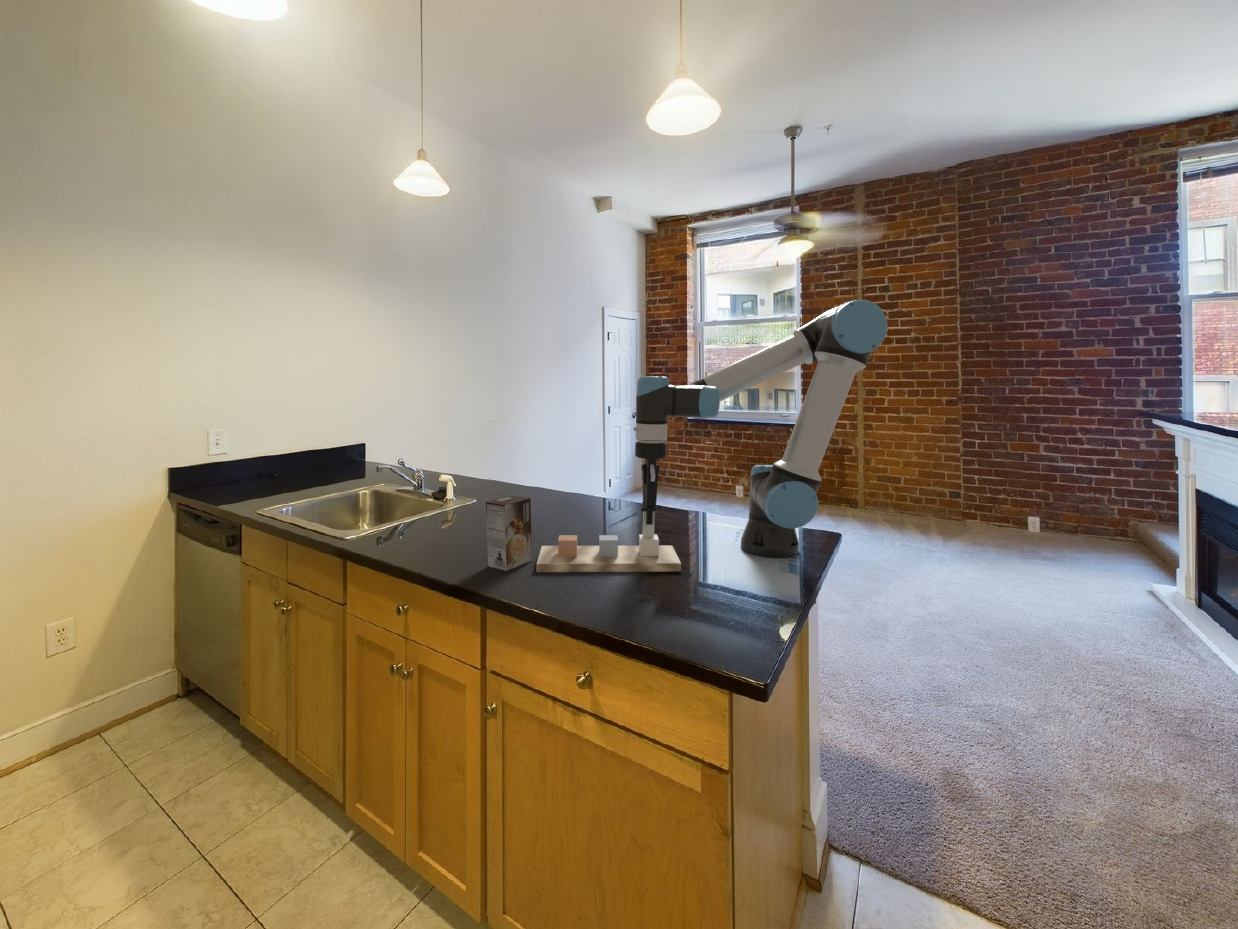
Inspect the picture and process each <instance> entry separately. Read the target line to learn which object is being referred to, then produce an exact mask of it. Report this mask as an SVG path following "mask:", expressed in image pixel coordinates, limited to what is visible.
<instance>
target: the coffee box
mask: <svg viewBox="0 0 1238 929" xmlns="http://www.w3.org/2000/svg"><path fill="white" fill-rule="evenodd" d="M531 504H532V503H531V497H524V496H518V495H508V496H504V497H501V498H500V497H499V498H496V499H493V500H488V501H485V508H486V509H485V510H486V511H485V512H486V536H487V537H486V538H487V542H486V544H487V566H488V567H489V568H493V569H497V570H500V571H501V570H502V571H505V572H507V571H510V570H513V569H515V568H518V567H520V566H522V565H524V564H525V565H526V564H527V563H529V562H531V561H533V552H532V550H533V549H532V548H533V545H532V510H531V509H532V508H531V506H532V505H531Z"/></svg>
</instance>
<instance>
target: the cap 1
mask: <svg viewBox="0 0 1238 929" xmlns="http://www.w3.org/2000/svg"><path fill="white" fill-rule="evenodd" d="M557 540H558V541H557V546H558V557H577V546H578V535H577V534H576V535H575V534H574V535H572V534H569V535H567V534H565V535H564V534H562V535H561V534H560V535H558V539H557Z"/></svg>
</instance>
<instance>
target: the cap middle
mask: <svg viewBox="0 0 1238 929" xmlns="http://www.w3.org/2000/svg"><path fill="white" fill-rule="evenodd" d="M598 536H599V538H598V543H599V544H598V546H599V557H618V546H619V538H618V537H619V536H618V534H600V535H598Z"/></svg>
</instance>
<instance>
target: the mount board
mask: <svg viewBox="0 0 1238 929" xmlns="http://www.w3.org/2000/svg"><path fill="white" fill-rule="evenodd" d="M535 566H536V573H588V572H589V573H592V572H593V573H597V572H598V573H599V572H600V573H607V572H608V573H611V572H613V573H615V572H617V573H619V572H621V573H622V572H623V573H624V572H626V573H628V572H630V573H631V572H634V573H635V572H637V573H639V572H640V573H641V572H645V573H646V572H650V573H651V572H660V573H661V572H682V562H681V560H680V558H679V556H678V555H677V552H676V550H675V548H674V546H673V545H659V556H640V553H639V545H618V557H599V545H577V557H558V545H541V547H540V551H539V555H538V557H537V561H536V565H535Z"/></svg>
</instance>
